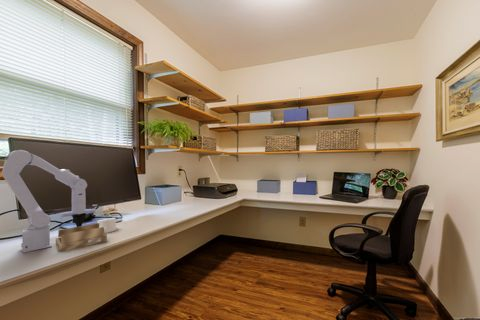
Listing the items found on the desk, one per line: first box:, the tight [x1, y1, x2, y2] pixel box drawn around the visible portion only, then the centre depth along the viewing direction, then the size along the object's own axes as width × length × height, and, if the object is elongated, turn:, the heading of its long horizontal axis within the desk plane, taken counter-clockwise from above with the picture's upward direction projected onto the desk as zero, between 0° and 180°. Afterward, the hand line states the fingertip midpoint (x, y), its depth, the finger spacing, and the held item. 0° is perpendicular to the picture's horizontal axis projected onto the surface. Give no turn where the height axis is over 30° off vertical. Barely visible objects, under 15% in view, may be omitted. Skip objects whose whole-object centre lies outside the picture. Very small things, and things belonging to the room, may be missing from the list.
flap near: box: [61, 227, 105, 244], centre depth 104 cm, size 17×4×1 cm
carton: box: [55, 233, 108, 252], centre depth 108 cm, size 18×13×3 cm
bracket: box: [97, 217, 117, 234], centre depth 122 cm, size 20×9×7 cm, turn 146°
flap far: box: [57, 222, 100, 238], centre depth 112 cm, size 17×4×1 cm
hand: (79, 229), depth 114 cm, fingers closed
